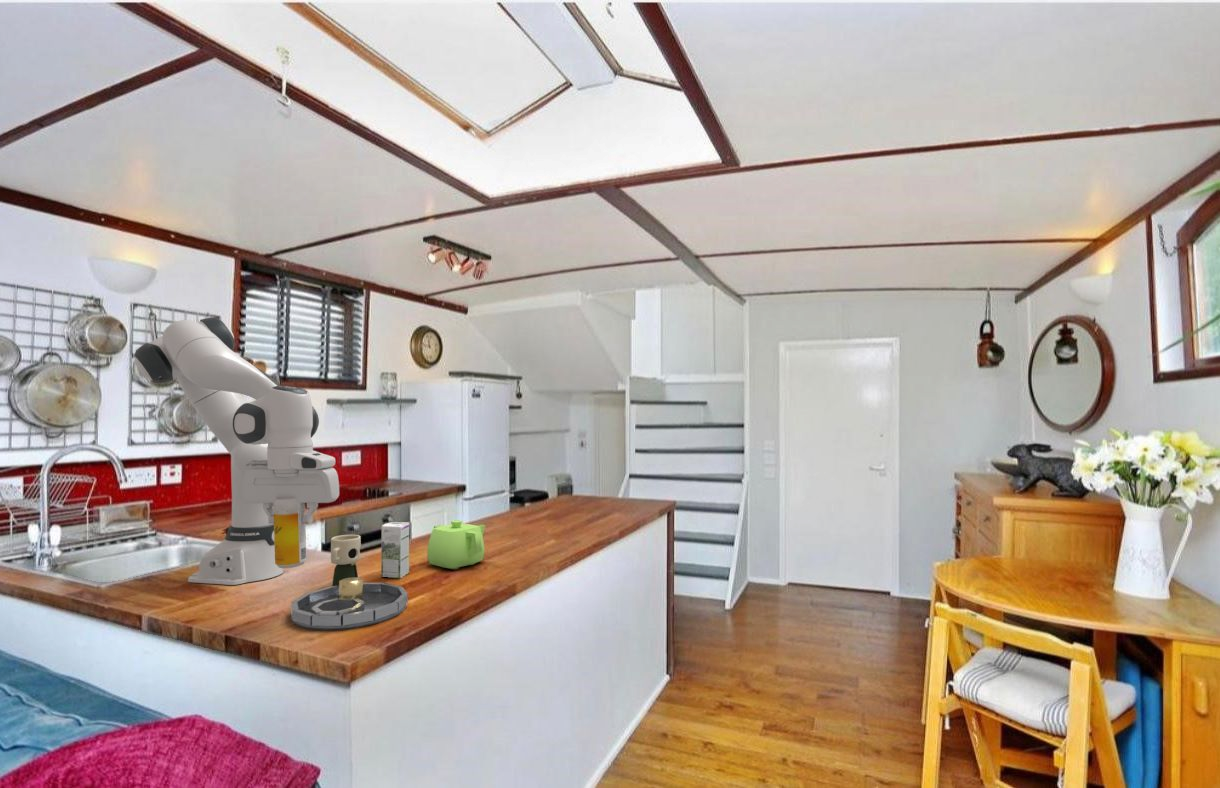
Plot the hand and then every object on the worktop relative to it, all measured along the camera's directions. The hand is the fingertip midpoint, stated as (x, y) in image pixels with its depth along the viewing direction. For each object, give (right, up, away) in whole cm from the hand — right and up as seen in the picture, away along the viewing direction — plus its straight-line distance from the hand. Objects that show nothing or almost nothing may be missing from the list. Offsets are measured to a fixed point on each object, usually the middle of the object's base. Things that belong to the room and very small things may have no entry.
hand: (290, 523), depth 131 cm
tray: (+10, -22, +6) cm, 25 cm away
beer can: (0, -9, 0) cm, 9 cm away
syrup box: (+10, -22, +35) cm, 43 cm away
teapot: (+25, -23, +49) cm, 60 cm away
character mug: (+1, -22, +24) cm, 33 cm away
